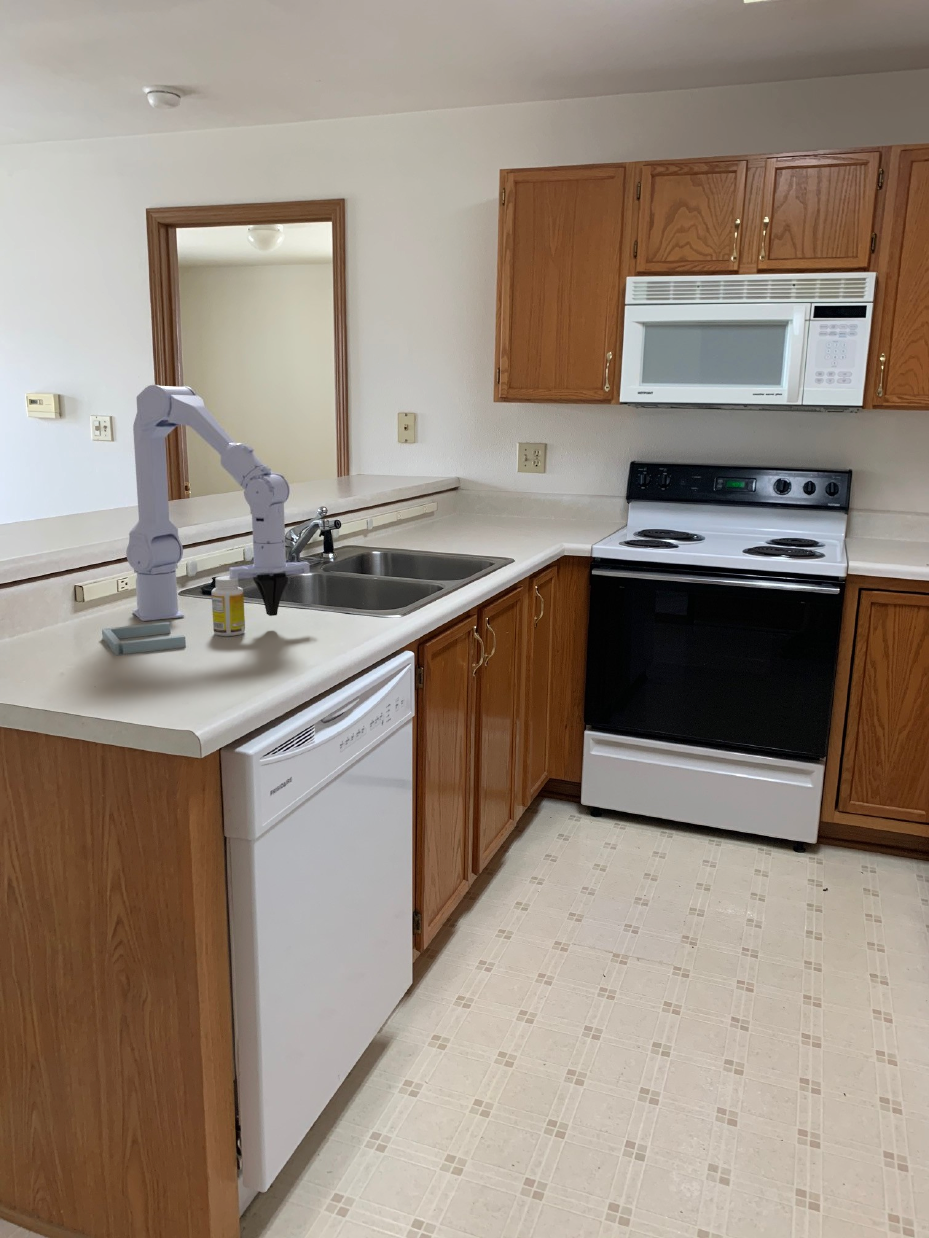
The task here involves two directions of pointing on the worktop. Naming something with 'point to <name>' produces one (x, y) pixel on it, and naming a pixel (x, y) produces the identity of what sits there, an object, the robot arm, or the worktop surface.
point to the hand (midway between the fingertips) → (271, 614)
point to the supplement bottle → (228, 607)
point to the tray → (118, 647)
